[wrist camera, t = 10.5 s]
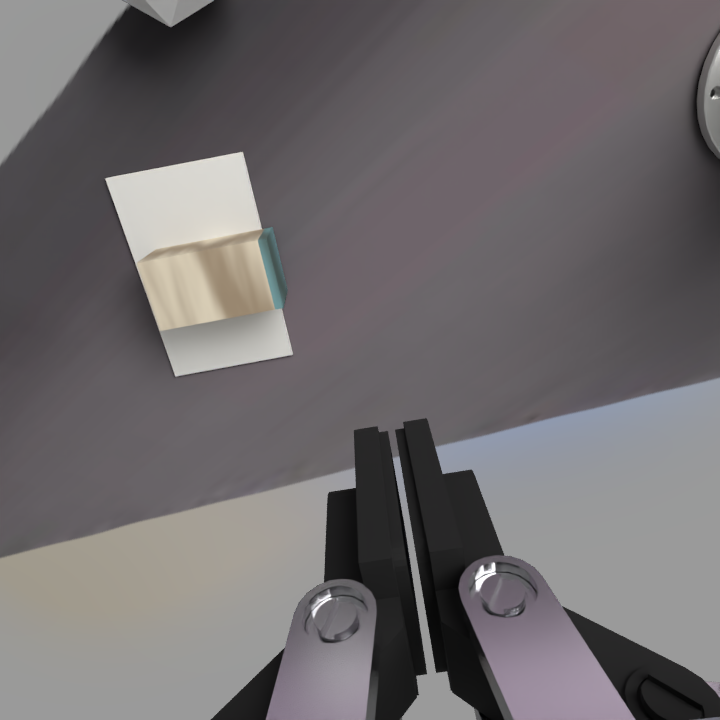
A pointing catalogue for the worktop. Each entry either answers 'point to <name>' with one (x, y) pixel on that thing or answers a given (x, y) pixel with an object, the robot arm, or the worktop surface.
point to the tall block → (214, 279)
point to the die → (169, 9)
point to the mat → (191, 224)
